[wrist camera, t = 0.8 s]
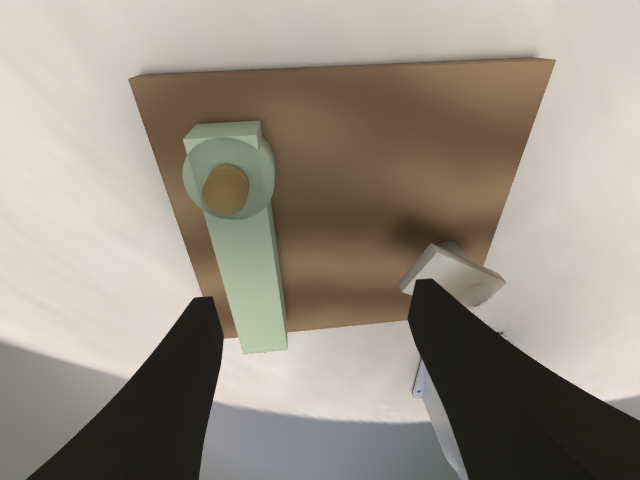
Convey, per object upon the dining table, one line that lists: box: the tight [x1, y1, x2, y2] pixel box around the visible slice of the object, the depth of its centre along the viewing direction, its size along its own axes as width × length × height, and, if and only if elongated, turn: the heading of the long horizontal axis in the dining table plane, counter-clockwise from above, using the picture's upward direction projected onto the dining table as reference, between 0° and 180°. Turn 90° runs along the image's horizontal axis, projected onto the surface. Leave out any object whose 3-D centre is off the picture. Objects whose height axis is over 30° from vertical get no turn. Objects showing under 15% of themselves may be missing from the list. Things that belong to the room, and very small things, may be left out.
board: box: [128, 58, 556, 339], centre depth 18 cm, size 18×20×6 cm
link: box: [182, 120, 287, 354], centre depth 18 cm, size 14×4×2 cm, turn 1°
